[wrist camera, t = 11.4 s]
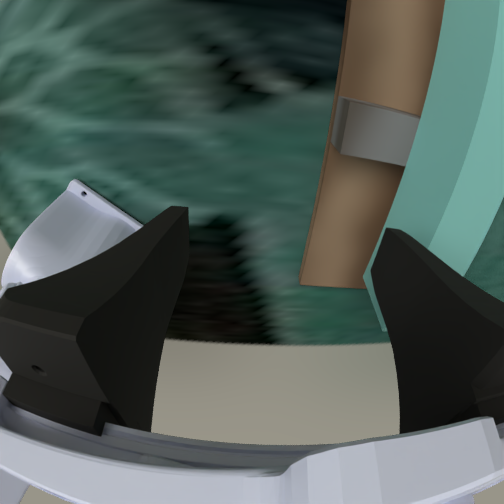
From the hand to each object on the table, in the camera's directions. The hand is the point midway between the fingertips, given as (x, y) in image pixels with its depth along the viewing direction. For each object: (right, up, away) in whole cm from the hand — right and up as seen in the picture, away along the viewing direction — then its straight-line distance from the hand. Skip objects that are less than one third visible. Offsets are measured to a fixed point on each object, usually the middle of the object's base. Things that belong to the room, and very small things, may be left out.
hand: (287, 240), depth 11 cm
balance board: (+10, +8, +7) cm, 14 cm away
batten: (+10, +6, +4) cm, 12 cm away
